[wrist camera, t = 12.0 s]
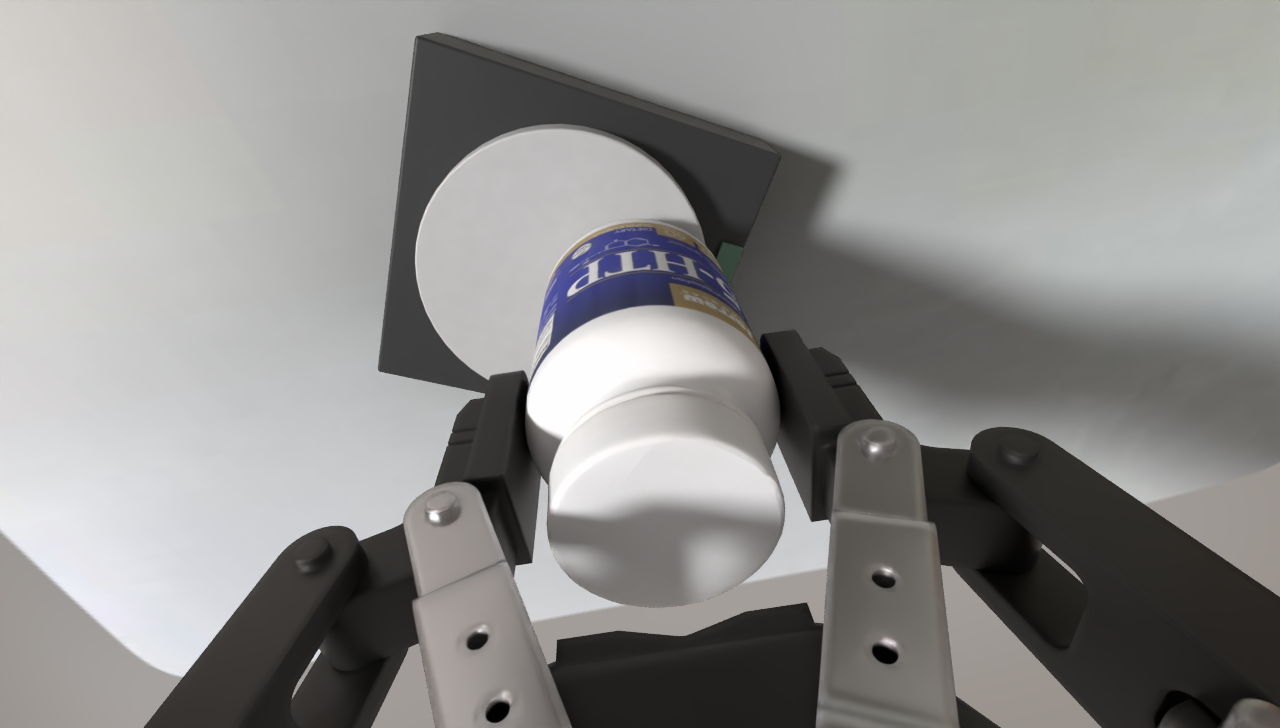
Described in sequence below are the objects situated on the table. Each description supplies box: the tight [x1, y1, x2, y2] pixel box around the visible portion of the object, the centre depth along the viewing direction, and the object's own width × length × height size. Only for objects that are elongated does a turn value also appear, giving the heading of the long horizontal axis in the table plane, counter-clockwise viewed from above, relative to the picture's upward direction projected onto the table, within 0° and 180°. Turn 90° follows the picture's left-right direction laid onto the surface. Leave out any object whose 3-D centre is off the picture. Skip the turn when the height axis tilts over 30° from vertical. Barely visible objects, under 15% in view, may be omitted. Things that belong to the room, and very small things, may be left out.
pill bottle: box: [525, 219, 785, 608], centre depth 14 cm, size 5×5×9 cm
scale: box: [378, 32, 781, 393], centre depth 19 cm, size 10×10×3 cm
